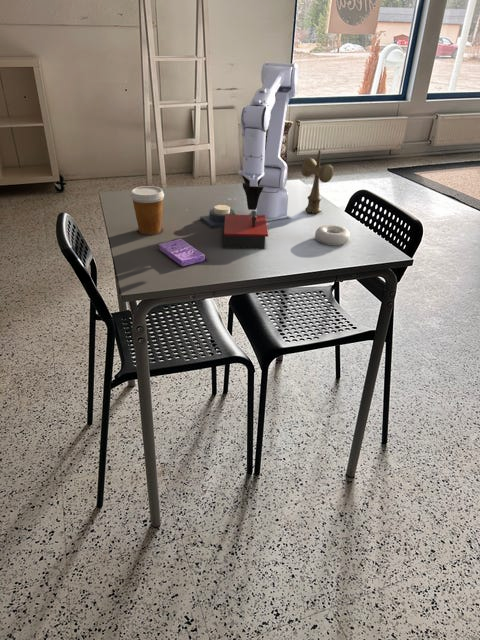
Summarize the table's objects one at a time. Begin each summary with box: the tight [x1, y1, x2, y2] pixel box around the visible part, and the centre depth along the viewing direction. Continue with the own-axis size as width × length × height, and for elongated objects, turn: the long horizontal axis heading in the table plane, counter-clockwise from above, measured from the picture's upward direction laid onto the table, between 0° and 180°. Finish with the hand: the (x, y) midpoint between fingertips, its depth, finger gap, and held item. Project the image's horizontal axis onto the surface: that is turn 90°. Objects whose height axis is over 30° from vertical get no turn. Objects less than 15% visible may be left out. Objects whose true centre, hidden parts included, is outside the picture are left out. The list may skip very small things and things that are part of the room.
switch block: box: [200, 208, 237, 228], centre depth 154 cm, size 11×8×3 cm
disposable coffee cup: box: [130, 185, 165, 236], centre depth 143 cm, size 10×10×12 cm
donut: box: [314, 224, 351, 246], centre depth 143 cm, size 10×4×10 cm
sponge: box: [158, 238, 206, 267], centre depth 131 cm, size 7×13×2 cm, turn 35°
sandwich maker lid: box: [223, 210, 269, 238], centre depth 140 cm, size 12×15×4 cm
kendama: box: [300, 149, 334, 214], centre depth 159 cm, size 6×10×20 cm, turn 35°
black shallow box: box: [223, 235, 266, 250], centre depth 142 cm, size 11×15×4 cm
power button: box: [213, 204, 231, 215], centre depth 153 cm, size 5×5×2 cm
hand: (251, 204), depth 138 cm, fingers open, 7 cm apart
